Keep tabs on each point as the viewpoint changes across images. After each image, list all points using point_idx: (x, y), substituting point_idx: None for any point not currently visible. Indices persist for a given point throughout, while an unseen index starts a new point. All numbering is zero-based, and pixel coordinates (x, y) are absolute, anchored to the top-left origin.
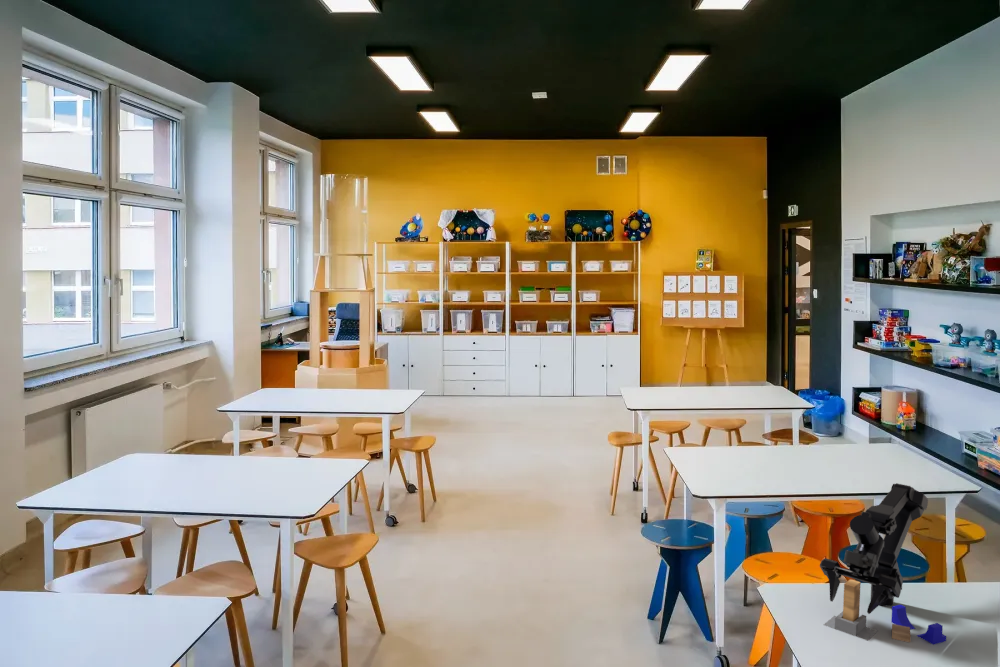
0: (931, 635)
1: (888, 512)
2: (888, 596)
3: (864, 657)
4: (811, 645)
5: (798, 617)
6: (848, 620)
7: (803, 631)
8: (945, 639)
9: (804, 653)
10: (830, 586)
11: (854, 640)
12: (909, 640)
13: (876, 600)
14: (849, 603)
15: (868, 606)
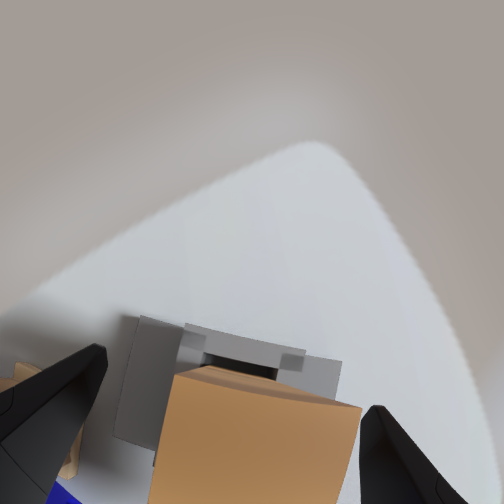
0: None
1: None
2: None
3: (154, 221)
4: (335, 212)
5: (425, 404)
6: (232, 354)
7: (388, 302)
8: None
9: (334, 155)
10: (433, 473)
11: None
12: (7, 378)
13: (10, 394)
14: (237, 376)
15: (84, 367)
